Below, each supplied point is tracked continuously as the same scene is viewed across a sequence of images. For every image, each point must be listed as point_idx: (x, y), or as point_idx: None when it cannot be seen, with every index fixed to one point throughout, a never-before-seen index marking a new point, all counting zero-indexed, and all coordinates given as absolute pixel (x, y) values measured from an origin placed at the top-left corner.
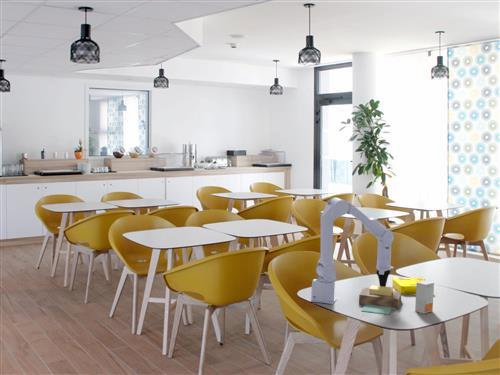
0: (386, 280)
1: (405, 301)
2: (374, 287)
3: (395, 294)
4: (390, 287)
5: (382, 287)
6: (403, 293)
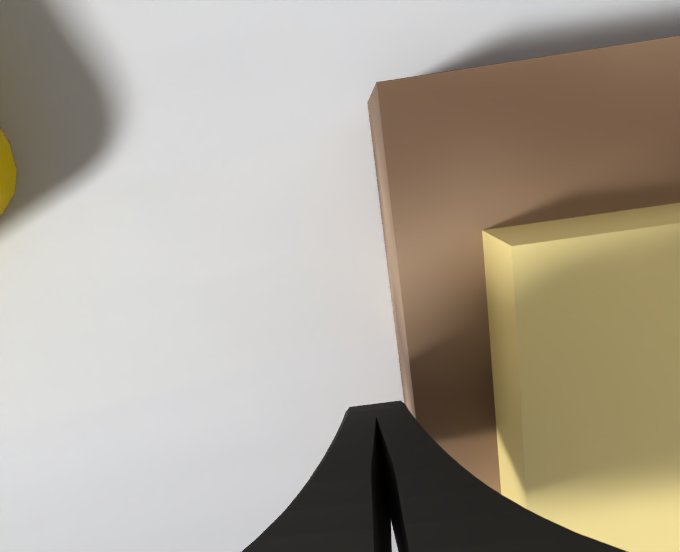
0: (462, 468)
1: (355, 37)
2: (676, 544)
3: (626, 140)
4: (537, 289)
5: (611, 426)
6: (4, 157)
